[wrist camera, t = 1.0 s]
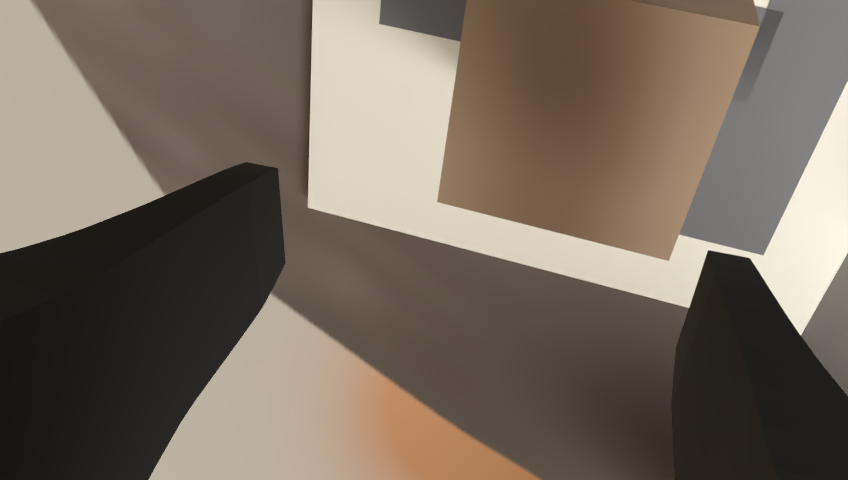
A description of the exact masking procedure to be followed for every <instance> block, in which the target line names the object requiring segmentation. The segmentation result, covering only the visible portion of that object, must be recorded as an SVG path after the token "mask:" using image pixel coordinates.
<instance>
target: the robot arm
mask: <svg viewBox="0 0 848 480" xmlns="http://www.w3.org/2000/svg"><path fill="white" fill-rule="evenodd" d="M284 265H285V252H284V240H283V227H282V215H281V202H280V190H279V177H278V168H273V167H268V166H263V165H258V164H252V163H247V162H245V163H242V164H239V165H236V166H233V167H231V168H228V169H226V170H223V171H221V172H218V173H216V174H214V175H211V176H209V177H207V178H204V179H202V180H200V181H197V182H195V183H193V184H191V185H188V186H186V187H184V188H182V189H179V190H177V191H175V192H172V193H170V194H168V195H166V196H163V197H161V198H159V199H156V200H154V201H152V202H150V203H147V204H145V205H143V206H140V207H138V208H135V209H132V210H130V211H128V212H125V213H122V214H120V215H117V216H115V217H112V218H110V219H107V220H104V221H102V222H99V223H97V224H94V225H92V226H89V227H86V228H84V229H81V230H78V231H75V232H72V233H69V234H66V235H63V236H60V237H57V238H54V239H50V240H47V241H44V242H40V243H37V244H34V245H30V246H27V247H24V248H20V249H17V250H12V251H8V252H5V253H0V480H148V479H149V478H150V476H151V473H152V472H153V470H154V468H155V466H156V465H157V463H158V461H159V459H160V458H161V456H162V454H163V452H164V451H165V449H166V447H167V445H168V444H169V442H170V440H171V438H172V437H173V435H174V433H175V431H176V430H177V428H178V426H179V424H180V423H181V421H182V420H183V418H184V417H185V415H186V414H187V412H188V410H189V409H190V407H191V406H192V404H193V403H194V401H195V400H196V398H197V397H198V396H199V394H200V393H201V392H202V390H203V389H204V388H205V386H206V385H207V384H208V382H209V381H210V379H211V378H212V377H213V375H214V374H215V373H216V371H217V370H218V369H219V367H220V366H221V364H222V363H223V362H224V360H225V359H226V358H227V356H228V355H229V353H230V352H231V351H232V349H233V348H234V346H235V345H236V344H237V343H238V341H239V340H240V338H241V337H242V336H243V334H244V333H245V331H246V330H247V328H248V327H249V326H250V324H251V323H252V322H253V320H254V319H255V317H256V316H257V315H258V313H259V311H260V310H261V308H262V307H263V305H264V303H265V302H266V300H267V298H268V296H269V294H270V292H271V291H272V289H273V287H274V285H275V283H276V281H277V279H278V277H279V275H280V273H281V271H282V269H283V267H284ZM672 427H673V448H674V467H675V480H848V396H847V395H846V394H845V393H844V391H843V390H842V389H841V388H840V386H839V385H838V384H837V383H836V382H835V380H834V379H833V378H832V377H831V375H830V374H829V373H828V372H827V370H826V369H825V368H824V367H823V365H822V364H821V363H820V361H819V360H818V359H817V357H816V356H815V355H814V354H813V352H812V351H811V349H810V348H809V347H808V345H807V344H806V342H805V341H804V340H803V338H802V337H801V335H800V334H799V332H798V331H797V330H796V328H795V327H794V325H793V324H792V322H791V321H790V319H789V318H788V316H787V315H786V313H785V312H784V310H783V309H782V307H781V306H780V304H779V303H778V301H777V299H776V298H775V296H774V295H773V293H772V292H771V290H770V288H769V287H768V285H767V284H766V282H765V281H764V279H763V277H762V276H761V274H760V273H759V271H758V270H757V268H756V267H755V265H754V264H753V262H752V261H751V259H750V258H747V257H742V256H737V255H732V254H726V253H721V252H716V251H711V250H708V252H707V255H706V258H705V261H704V264H703V267H702V270H701V273H700V277H699V280H698V283H697V286H696V289H695V292H694V295H693V298H692V301H691V304H690V307H689V310H688V313H687V316H686V319H685V323H684V326H683V329H682V332H681V335H680V338H679V341H678V344H677V347H676V356H675V366H674V377H673V390H672Z"/></svg>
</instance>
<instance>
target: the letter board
mask: <svg viewBox="0 0 848 480" xmlns="http://www.w3.org/2000/svg"><path fill="white" fill-rule="evenodd" d="M466 2H467V0H313V12H312V55H311V97H310V139H309V181H308V208H311V209H315V210H319V211H323V212H326V213H330V214H334V215H338V216H342V217H345V218H349V219H353V220H357V221H361V222H364V223H368V224H372V225H376V226H380V227H383V228H387V229H391V230H395V231H399V232H402V233H406V234H410V235H414V236H418V237H421V238H425V239H429V240H433V241H437V242H440V243H444V244H448V245H452V246H456V247H459V248H463V249H467V250H471V251H475V252H478V253H482V254H486V255H490V256H494V257H497V258H501V259H505V260H509V261H513V262H516V263H520V264H524V265H528V266H532V267H535V268H539V269H543V270H547V271H551V272H554V273H558V274H562V275H566V276H570V277H573V278H577V279H581V280H585V281H589V282H592V283H596V284H600V285H604V286H608V287H611V288H615V289H619V290H623V291H627V292H630V293H634V294H638V295H642V296H646V297H649V298H653V299H657V300H661V301H665V302H668V303H672V304H676V305H680V306H684V307H687V308H689V307H690V304H691V301H692V298H693V295H694V292H695V289H696V286H697V283H698V280H699V277H700V273H701V270H702V267H703V264H704V261H705V258H706V255H707V252H708V250H711V251H716V252H721V253H726V254H732V255H737V256H742V257H747V258H750V259H751V261H752V262H753V264H754V265H755V267H756V268H757V270H758V271H759V273H760V274H761V276H762V277H763V279H764V281H765V282H766V284H767V285H768V287H769V288H770V290H771V292H772V293H773V295H774V296H775V298H776V299H777V301H778V303H779V304H780V306H781V307H782V309H783V310H784V312H785V313H786V315H787V316H788V318H789V319H790V321H791V322H792V324H793V325H794V327H795V328H796V330H797V331H798V332H799V334H800V335H801V334H802V333H803V331H804V329H805V327H806V326H807V324H808V322H809V320H810V319H811V317H812V315H813V313H814V311H815V310H816V308H817V306H818V304H819V303H820V301H821V299H822V297H823V296H824V294H825V292H826V290H827V288H828V287H829V285H830V283H831V281H832V280H833V278H834V276H835V274H836V273H837V271H838V269H839V267H840V265H841V264H842V262H843V260H844V258H845V257H846V255H847V253H848V0H754V4H755V8H756V12H757V16H758V20H759V24H760V28H759V31H758V33H757V36H756V38H755V41H754V43H753V46H752V49H751V51H750V54H749V56H748V59H747V61H746V64H745V67H744V69H743V72H742V74H741V77H740V79H739V82H738V84H737V87H736V90H735V92H734V95H733V97H732V100H731V102H730V105H729V108H728V110H727V113H726V115H725V118H724V120H723V123H722V126H721V128H720V131H719V133H718V136H717V138H716V141H715V144H714V146H713V149H712V151H711V154H710V156H709V159H708V162H707V164H706V167H705V169H704V172H703V174H702V177H701V179H700V182H699V185H698V187H697V190H696V192H695V195H694V197H693V200H692V203H691V205H690V208H689V210H688V213H687V215H686V218H685V221H684V223H683V226H682V228H681V231H680V233H679V236H678V239H677V241H676V244H675V246H674V249H673V251H672V254H671V256H670V259H669V261H667V260H663V259H659V258H655V257H651V256H647V255H643V254H639V253H635V252H631V251H628V250H624V249H620V248H616V247H612V246H608V245H604V244H600V243H596V242H592V241H588V240H584V239H580V238H576V237H572V236H569V235H565V234H561V233H557V232H553V231H549V230H545V229H541V228H537V227H533V226H529V225H525V224H521V223H517V222H513V221H510V220H506V219H502V218H498V217H494V216H490V215H486V214H482V213H478V212H474V211H470V210H466V209H462V208H458V207H454V206H451V205H447V204H443V203H439V202H437V199H438V192H439V186H440V179H441V172H442V165H443V158H444V152H445V145H446V138H447V131H448V124H449V118H450V111H451V104H452V97H453V90H454V83H455V77H456V70H457V63H458V56H459V49H460V43H461V36H462V29H463V22H464V15H465V8H466Z"/></svg>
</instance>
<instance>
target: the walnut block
mask: <svg viewBox="0 0 848 480" xmlns="http://www.w3.org/2000/svg"><path fill="white" fill-rule="evenodd" d="M759 28H760V24H759V20H758V16H757V12H756V8H755V4H754V0H467V2H466V8H465V15H464V22H463V29H462V36H461V43H460V49H459V56H458V63H457V70H456V77H455V83H454V90H453V97H452V104H451V111H450V118H449V124H448V131H447V138H446V145H445V152H444V158H443V165H442V172H441V179H440V186H439V192H438V199H437V202H439V203H443V204H447V205H451V206H454V207H458V208H462V209H466V210H470V211H474V212H478V213H482V214H486V215H490V216H494V217H498V218H502V219H506V220H510V221H513V222H517V223H521V224H525V225H529V226H533V227H537V228H541V229H545V230H549V231H553V232H557V233H561V234H565V235H569V236H572V237H576V238H580V239H584V240H588V241H592V242H596V243H600V244H604V245H608V246H612V247H616V248H620V249H624V250H628V251H631V252H635V253H639V254H643V255H647V256H651V257H655V258H659V259H663V260H667V261H669V259H670V256H671V254H672V251H673V249H674V246H675V244H676V241H677V239H678V236H679V233H680V231H681V228H682V226H683V223H684V221H685V218H686V215H687V213H688V210H689V208H690V205H691V203H692V200H693V197H694V195H695V192H696V190H697V187H698V185H699V182H700V179H701V177H702V174H703V172H704V169H705V167H706V164H707V162H708V159H709V156H710V154H711V151H712V149H713V146H714V144H715V141H716V138H717V136H718V133H719V131H720V128H721V126H722V123H723V120H724V118H725V115H726V113H727V110H728V108H729V105H730V102H731V100H732V97H733V95H734V92H735V90H736V87H737V84H738V82H739V79H740V77H741V74H742V72H743V69H744V67H745V64H746V61H747V59H748V56H749V54H750V51H751V49H752V46H753V43H754V41H755V38H756V36H757V33H758V31H759Z"/></svg>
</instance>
